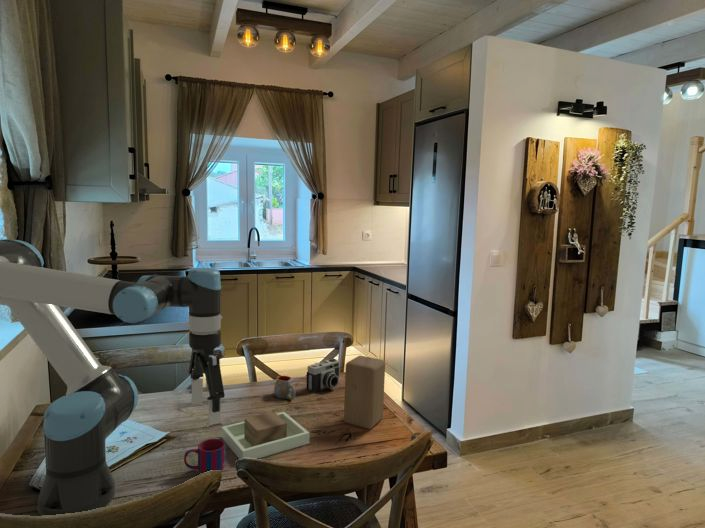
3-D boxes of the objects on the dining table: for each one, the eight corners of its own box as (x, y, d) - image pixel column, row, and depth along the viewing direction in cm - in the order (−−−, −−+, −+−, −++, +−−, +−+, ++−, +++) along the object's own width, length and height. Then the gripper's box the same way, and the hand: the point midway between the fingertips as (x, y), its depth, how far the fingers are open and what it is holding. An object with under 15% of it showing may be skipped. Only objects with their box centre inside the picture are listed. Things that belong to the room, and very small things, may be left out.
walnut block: (257, 451, 129) (257, 430, 128) (244, 437, 136) (244, 418, 136) (286, 443, 134) (286, 423, 134) (272, 430, 142) (273, 411, 141)
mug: (271, 393, 171) (271, 376, 170) (288, 390, 175) (288, 373, 174) (284, 406, 161) (284, 387, 160) (302, 402, 165) (302, 384, 164)
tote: (242, 465, 123) (243, 451, 123) (221, 440, 136) (221, 426, 136) (309, 445, 135) (309, 432, 134) (283, 423, 148) (284, 411, 147)
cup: (225, 475, 119) (225, 450, 118) (183, 480, 116) (183, 454, 115) (224, 461, 125) (225, 437, 124) (185, 465, 122) (185, 441, 121)
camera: (317, 396, 170) (318, 369, 169) (303, 389, 177) (303, 363, 176) (347, 388, 179) (347, 362, 178) (332, 381, 186) (333, 356, 185)
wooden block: (342, 423, 150) (344, 362, 147) (356, 411, 159) (359, 354, 156) (370, 430, 145) (373, 368, 143) (383, 418, 154) (386, 359, 152)
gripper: (238, 341, 108) (238, 428, 111) (204, 318, 128) (204, 392, 131) (206, 345, 104) (206, 436, 106) (175, 321, 124) (176, 398, 127)
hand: (205, 412), depth 119 cm, fingers open, 13 cm apart
